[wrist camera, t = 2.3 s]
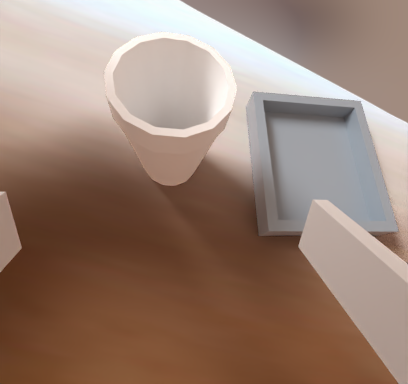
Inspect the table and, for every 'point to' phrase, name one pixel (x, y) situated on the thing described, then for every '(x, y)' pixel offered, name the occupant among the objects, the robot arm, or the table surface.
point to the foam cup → (169, 101)
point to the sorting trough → (314, 163)
